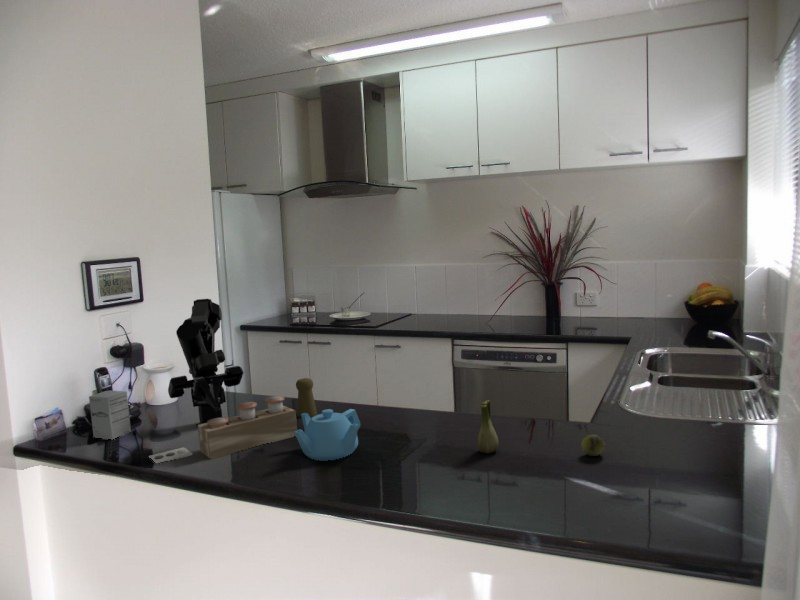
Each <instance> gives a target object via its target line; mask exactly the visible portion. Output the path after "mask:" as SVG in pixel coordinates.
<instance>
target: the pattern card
mask: <svg viewBox="0 0 800 600" xmlns="http://www.w3.org/2000/svg"><path fill="white" fill-rule="evenodd" d="M190 456H193V453H192V452H191V451H189V449H187V448H186V447H185V446H183V447H180V448H176V449H171V450H166V451H164V452H163V451H162V452H160V453H155V454H152V455H151V454H150V455H149V456H148V458H149V459H150V458H151V459H152V460H153V461H154V462H155V463H160V462H164V461H168V462H171V461H170V460H172V461H174V459H176V460H179V458H180V459H183V458H187V457H190ZM151 459H150V460H151ZM152 460H151V461H152ZM153 461H152V462H153ZM154 462H153V463H154ZM155 463H154V464H155ZM164 463H165V462H164ZM160 464H161V463H160Z"/></svg>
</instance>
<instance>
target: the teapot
mask: <svg viewBox="0 0 800 600" xmlns="http://www.w3.org/2000/svg"><path fill="white" fill-rule="evenodd" d="M356 411H357V410H356V409H354V408H353V409H352V408H349V409H347V410H345V411H344V412H342V413H341V412H334V410H333V409H331V408H328V409H323V410H321V413H320V414H316V415H314V416H311V417H310V416H309V415H308V414H307V413H303V414H301V417H300V418H301V421H302V425H303V429H304V431H303V429H300V428H299V429H297V431H295V432H294V433H295V435H296V436H295V437H296V439H297V441H298V443H299V446H300V447H301V448H300V449H301V450H302V452H303V453H304V455H305V456H307V457H308V458H309V459H310V458H311V459H310V460H313V459H314V461H318V460H319V462H320V461H321V462H326V461H327V462H328V460H331V461H336V459H337V460H341V459H344V458H347V457H349V456H351V455H352V454H353V453H354V451H356V449H357V448H358V445H359V437H358V430H359V429H360V427H361V426H362V425H361V421H360V419H359V417H358V414H357V412H356ZM350 454H351V455H350ZM348 455H349V456H348ZM346 456H347V457H346ZM343 457H344V458H343ZM340 458H341V459H340Z"/></svg>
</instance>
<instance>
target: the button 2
mask: <svg viewBox="0 0 800 600" xmlns="http://www.w3.org/2000/svg"><path fill="white" fill-rule="evenodd" d="M284 401H285V396H284V395H273V396H269V397H266V398H265V399H264V403H266V404H267V409H268V413H269V414H271V415H272V414H276V413H280V412H283V405H284V404H283V402H284Z"/></svg>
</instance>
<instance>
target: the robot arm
mask: <svg viewBox="0 0 800 600" xmlns="http://www.w3.org/2000/svg"><path fill="white" fill-rule="evenodd" d="M222 315H223V313H222V310H221V307H220V305H219V304H218V303H216V302H213V301H212V299H211V298H199V299H196V300H193V305H192V307H191V316H190V317H188V318H186V319H185V320H184V321H183V322H182V324H181V325H179V326H178V327H177V328H176V331H175V333H176V334H175V335H176V336H177V340H178V341H179V344H180V347H181V349H182V352H183V356H184V357H185V360H186V361H185V362H186V364H187V366H188V373H189V375H191V376H192V379H189V380H188V377H187V375H180V376H174V377H171V378H170V380H169V383H168V388H167V392H168V395H169V398H170V399H175V398H181V397H183V395H185V390H187V389H188V390H189V389H190V395H191V401H192V407H193V408H195V407H198V419H199V422H196V423H195V426H196V427H198V425H200V424H204V423H207V421H209V420H211V419H214V418H220V417H223V410H222V405H223V404H224V403H226V402H227V400H226V399H227V398H226V392H225V388H224V387H223V384H224V386H225V387H228V388H230V387H234V386H238V385H240V384H241V381H242V378H243V377H244V370H243V367H241V366H239V365H235V366H230V367H226V368H225V370H224V373H220V374H217V372H218V371H219V369H218V366H219V365H220V364H221V363H222V364H223V363H224V362H225V360H226V356H225V353H224V351H223V349H217V350H215V348H216V347H215V344H216V343H215V340H216V339H215V337H216V336H215V335H216V333H217V332H218V330H219V329H220V327H221V321H222V320H223V316H222Z"/></svg>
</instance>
